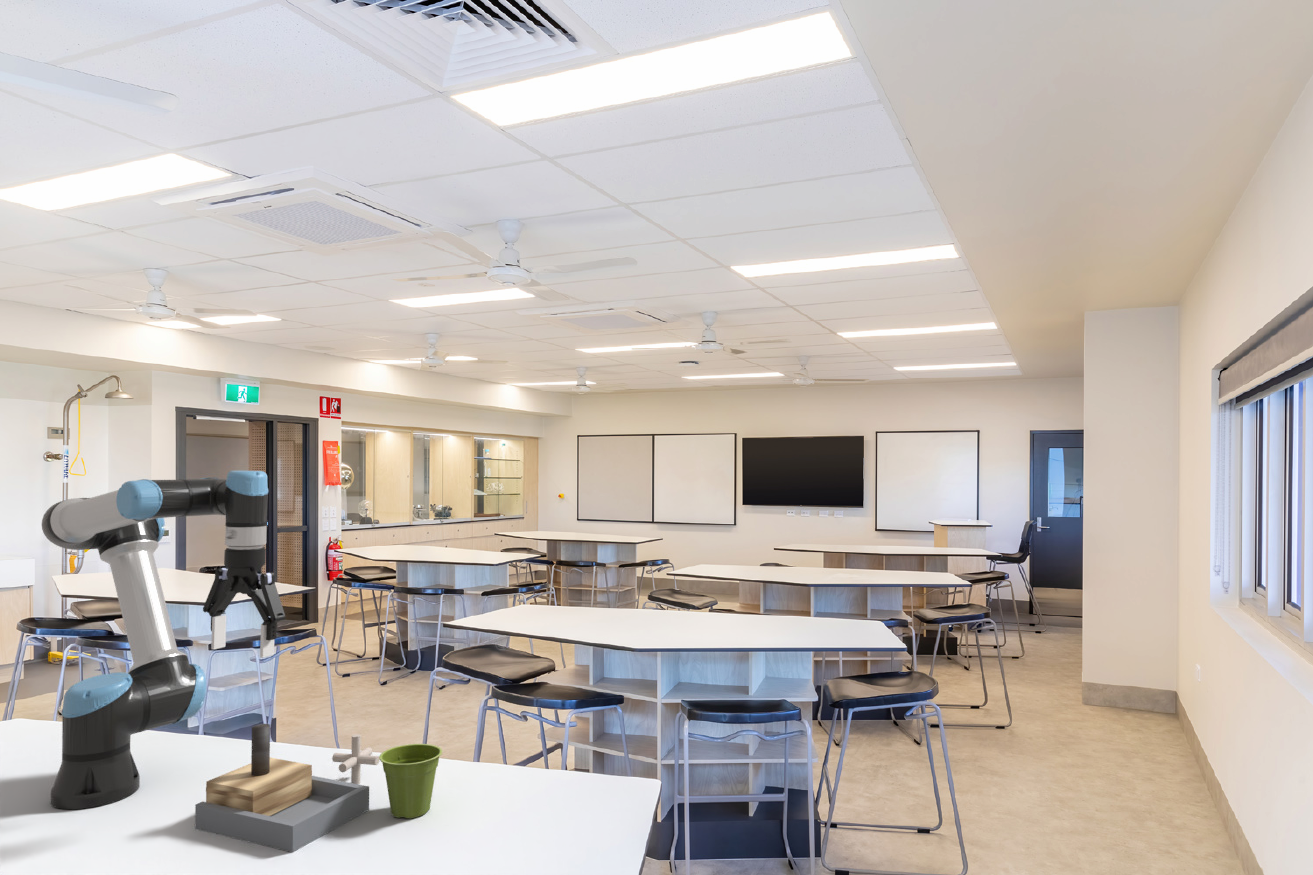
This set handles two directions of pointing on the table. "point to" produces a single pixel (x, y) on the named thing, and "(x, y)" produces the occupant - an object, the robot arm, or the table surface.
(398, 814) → the plant pot
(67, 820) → the table surface
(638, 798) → the table surface
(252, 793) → the wooden block with peg
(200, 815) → the bay
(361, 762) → the pipe connector
